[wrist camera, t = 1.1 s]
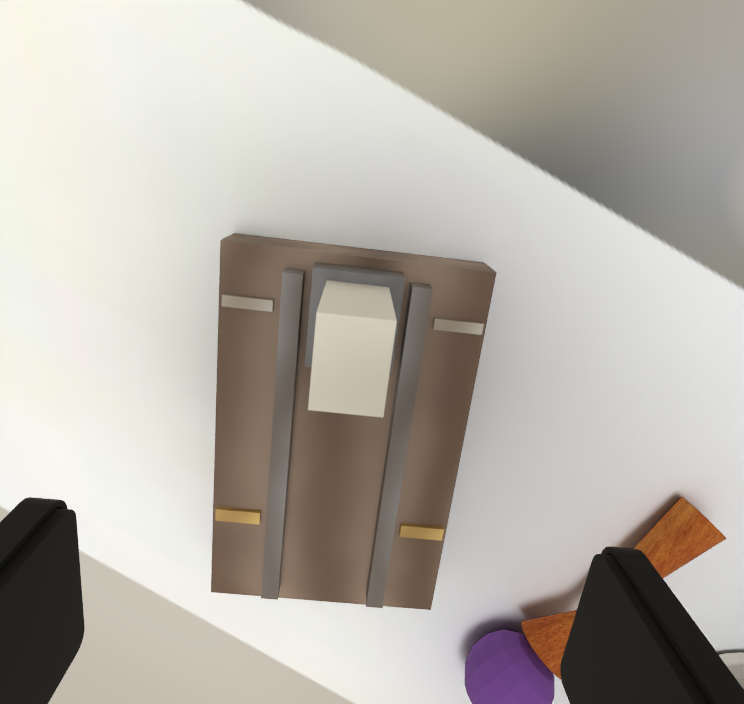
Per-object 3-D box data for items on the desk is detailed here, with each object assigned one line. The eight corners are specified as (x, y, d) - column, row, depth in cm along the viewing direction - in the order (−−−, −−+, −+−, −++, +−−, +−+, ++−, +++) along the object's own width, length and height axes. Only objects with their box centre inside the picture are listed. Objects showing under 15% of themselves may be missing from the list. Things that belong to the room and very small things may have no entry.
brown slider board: (483, 262, 30) (502, 276, 26) (425, 576, 37) (432, 624, 33) (234, 233, 30) (214, 243, 26) (222, 559, 37) (205, 606, 33)
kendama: (760, 572, 33) (520, 762, 36) (689, 508, 38) (485, 679, 41) (720, 527, 31) (466, 736, 33) (650, 466, 36) (436, 651, 39)
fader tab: (402, 272, 27) (417, 310, 20) (389, 364, 29) (398, 430, 21) (315, 262, 27) (298, 296, 20) (307, 355, 28) (289, 419, 21)
